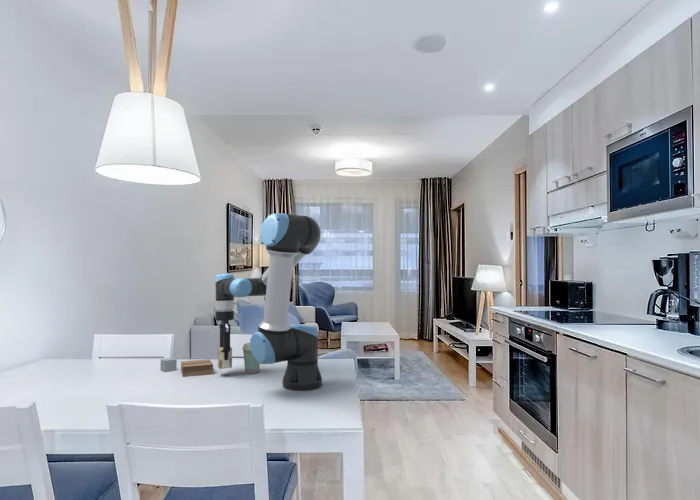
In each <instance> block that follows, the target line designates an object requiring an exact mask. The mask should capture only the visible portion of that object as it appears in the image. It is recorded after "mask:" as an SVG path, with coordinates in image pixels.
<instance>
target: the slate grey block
mask: <svg viewBox="0 0 700 500" xmlns="http://www.w3.org/2000/svg"><path fill="white" fill-rule="evenodd" d="M177 362H178V361H177V358H174V357H167V358H162V359H161V358H160V371H161V372H163V373H169V372H175V371H177V364H178V363H177Z"/></svg>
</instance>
